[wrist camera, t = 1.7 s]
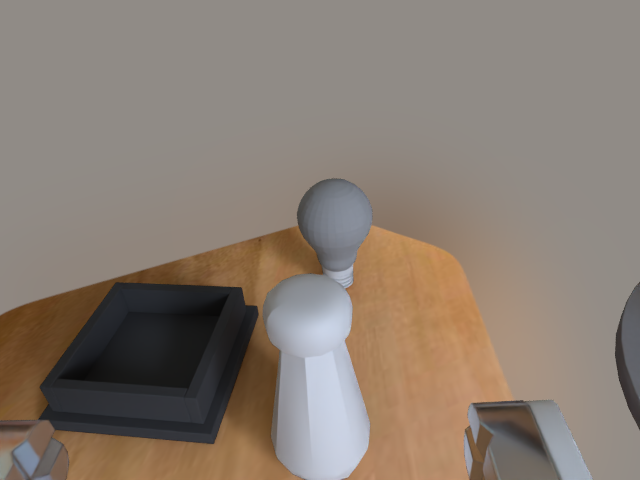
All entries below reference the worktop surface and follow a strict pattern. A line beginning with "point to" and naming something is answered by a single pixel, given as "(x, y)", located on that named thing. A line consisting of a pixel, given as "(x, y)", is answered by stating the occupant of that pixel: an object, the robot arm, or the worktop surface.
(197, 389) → the pad
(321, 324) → the salt shaker
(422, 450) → the worktop surface
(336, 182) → the light bulb
